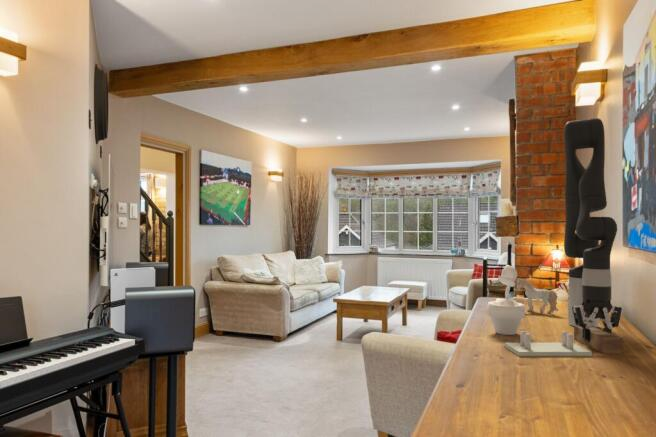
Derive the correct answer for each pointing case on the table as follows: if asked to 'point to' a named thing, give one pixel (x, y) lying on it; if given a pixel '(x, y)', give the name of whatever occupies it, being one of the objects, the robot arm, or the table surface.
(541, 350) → the peg stand
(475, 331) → the table surface
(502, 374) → the table surface
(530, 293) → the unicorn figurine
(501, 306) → the potted plant
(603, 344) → the walnut shelf board
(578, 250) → the robot arm
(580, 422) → the table surface
